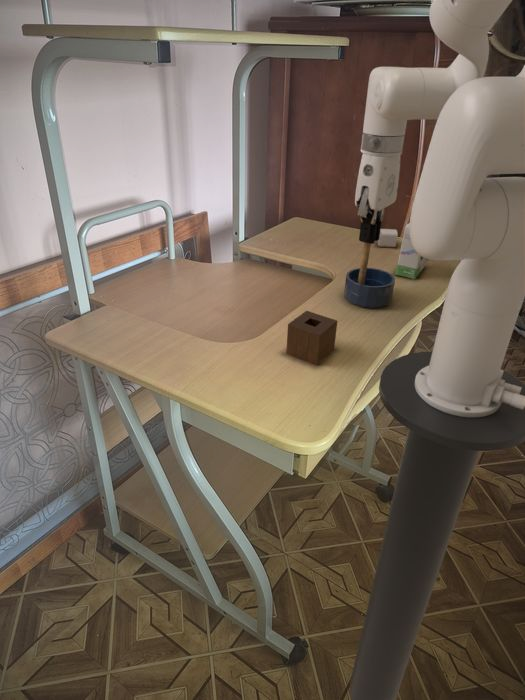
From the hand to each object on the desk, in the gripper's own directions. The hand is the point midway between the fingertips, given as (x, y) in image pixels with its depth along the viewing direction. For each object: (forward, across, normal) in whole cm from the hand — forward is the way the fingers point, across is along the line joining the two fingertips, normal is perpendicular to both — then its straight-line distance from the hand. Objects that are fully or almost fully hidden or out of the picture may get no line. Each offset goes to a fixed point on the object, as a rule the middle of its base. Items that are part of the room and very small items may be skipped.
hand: (368, 240), depth 101 cm
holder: (+13, -26, -3) cm, 29 cm away
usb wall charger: (+13, +33, +10) cm, 36 cm away
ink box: (+13, +20, -4) cm, 24 cm away
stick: (+11, 0, 0) cm, 11 cm away
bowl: (+13, 0, -2) cm, 13 cm away
